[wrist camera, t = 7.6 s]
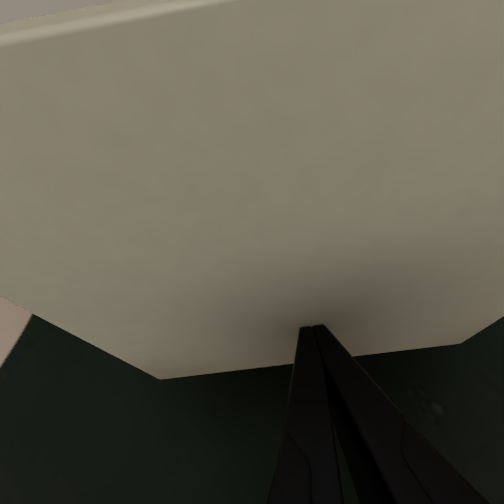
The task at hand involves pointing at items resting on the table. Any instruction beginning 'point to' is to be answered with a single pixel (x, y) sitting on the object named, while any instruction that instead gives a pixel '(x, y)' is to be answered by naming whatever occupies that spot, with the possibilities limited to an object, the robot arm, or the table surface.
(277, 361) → the lid
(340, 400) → the robot arm
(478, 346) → the table surface
